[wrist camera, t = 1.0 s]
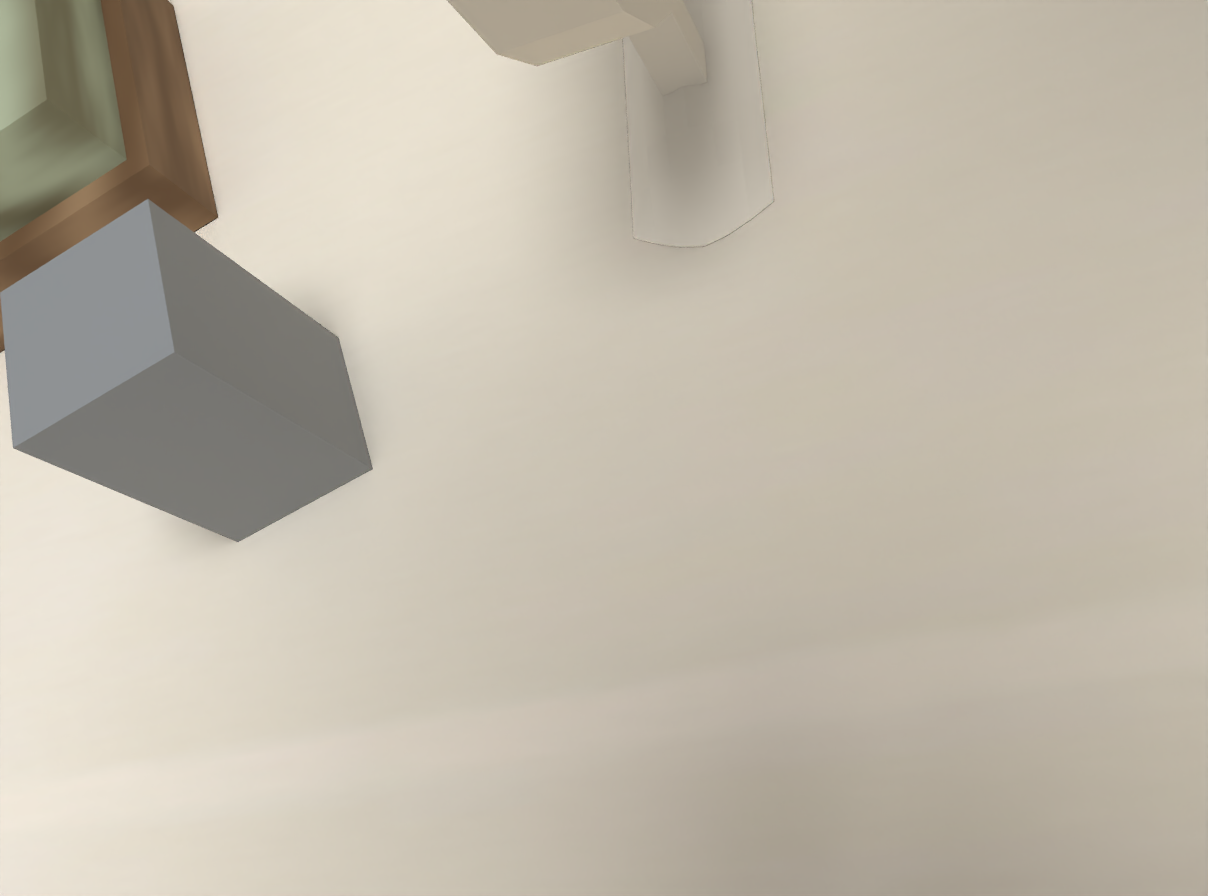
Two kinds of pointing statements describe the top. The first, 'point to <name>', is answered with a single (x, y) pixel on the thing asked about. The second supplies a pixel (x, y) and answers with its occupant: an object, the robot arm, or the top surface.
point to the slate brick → (178, 378)
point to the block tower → (92, 125)
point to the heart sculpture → (663, 100)
